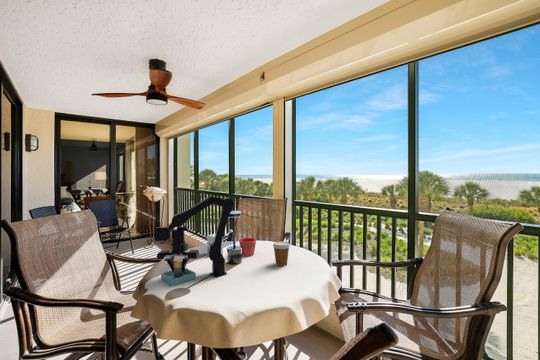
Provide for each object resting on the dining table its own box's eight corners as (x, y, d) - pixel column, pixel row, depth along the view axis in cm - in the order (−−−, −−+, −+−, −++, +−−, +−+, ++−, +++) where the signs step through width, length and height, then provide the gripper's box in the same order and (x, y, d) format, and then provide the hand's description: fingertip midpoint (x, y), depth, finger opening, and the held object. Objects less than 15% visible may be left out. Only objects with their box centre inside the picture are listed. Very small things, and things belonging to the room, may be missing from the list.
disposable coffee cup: (270, 266, 138) (270, 244, 138) (276, 260, 147) (276, 240, 147) (286, 268, 135) (286, 246, 135) (292, 262, 144) (291, 242, 144)
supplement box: (214, 257, 156) (214, 236, 156) (206, 254, 160) (206, 235, 160) (223, 254, 161) (223, 234, 161) (215, 252, 166) (215, 233, 166)
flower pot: (255, 257, 154) (255, 241, 154) (238, 257, 154) (238, 241, 154) (256, 252, 165) (256, 237, 165) (240, 252, 165) (240, 237, 165)
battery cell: (184, 275, 121) (184, 260, 121) (176, 278, 118) (176, 263, 118) (180, 273, 124) (180, 258, 124) (172, 275, 121) (172, 261, 121)
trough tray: (195, 278, 121) (195, 272, 121) (172, 286, 113) (172, 279, 113) (184, 272, 129) (184, 266, 129) (161, 279, 121) (161, 273, 121)
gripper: (201, 235, 129) (201, 265, 129) (165, 236, 129) (165, 266, 129) (195, 241, 118) (196, 274, 118) (156, 241, 118) (156, 274, 118)
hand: (178, 271), depth 121 cm, fingers closed on battery cell, 4 cm apart
